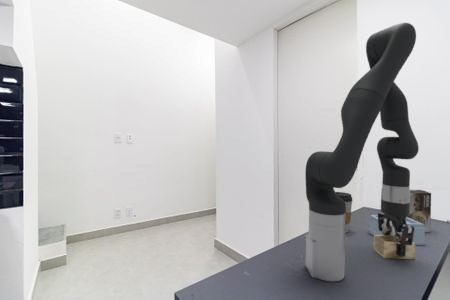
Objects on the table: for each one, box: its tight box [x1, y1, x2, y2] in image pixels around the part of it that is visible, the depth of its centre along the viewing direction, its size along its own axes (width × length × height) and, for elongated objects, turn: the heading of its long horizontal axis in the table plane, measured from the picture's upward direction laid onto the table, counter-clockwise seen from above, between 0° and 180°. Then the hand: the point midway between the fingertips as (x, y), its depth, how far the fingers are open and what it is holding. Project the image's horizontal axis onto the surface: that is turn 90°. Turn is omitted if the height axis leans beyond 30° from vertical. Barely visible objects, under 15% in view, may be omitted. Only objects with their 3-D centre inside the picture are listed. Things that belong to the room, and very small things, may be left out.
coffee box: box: [407, 189, 432, 233], centre depth 98 cm, size 9×6×16 cm
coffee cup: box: [335, 191, 353, 234], centre depth 96 cm, size 8×8×15 cm
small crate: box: [373, 235, 416, 260], centre depth 76 cm, size 9×6×5 cm, turn 87°
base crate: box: [368, 214, 426, 246], centre depth 88 cm, size 13×11×7 cm
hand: (393, 250), depth 76 cm, fingers closed on small crate, 6 cm apart
